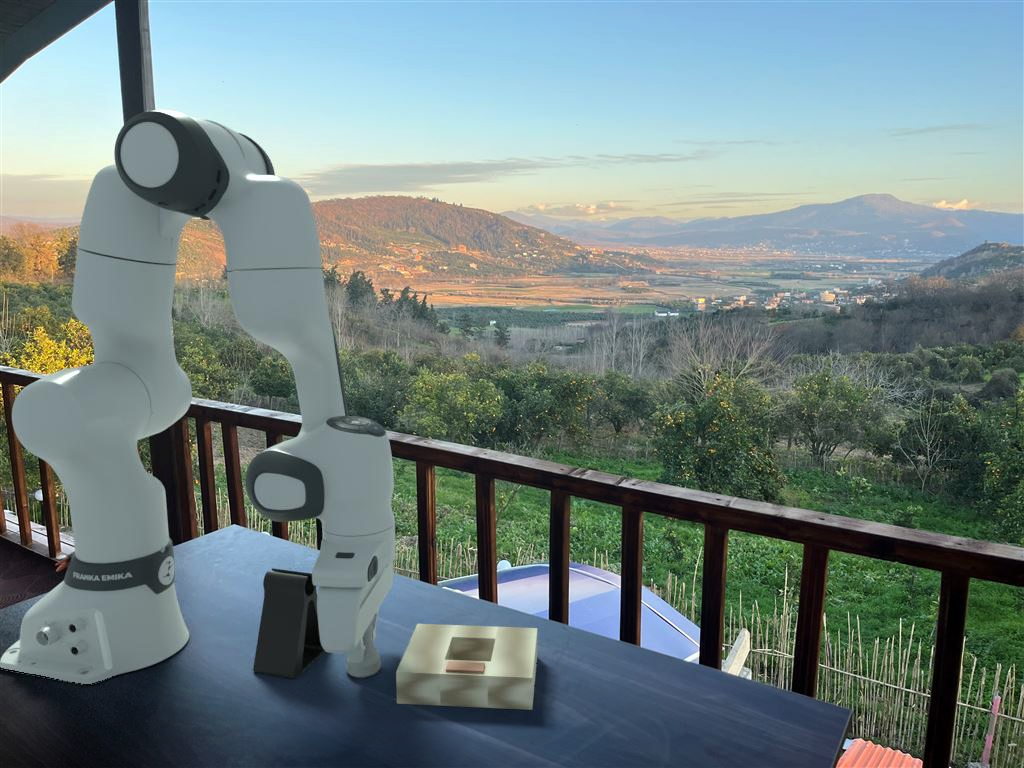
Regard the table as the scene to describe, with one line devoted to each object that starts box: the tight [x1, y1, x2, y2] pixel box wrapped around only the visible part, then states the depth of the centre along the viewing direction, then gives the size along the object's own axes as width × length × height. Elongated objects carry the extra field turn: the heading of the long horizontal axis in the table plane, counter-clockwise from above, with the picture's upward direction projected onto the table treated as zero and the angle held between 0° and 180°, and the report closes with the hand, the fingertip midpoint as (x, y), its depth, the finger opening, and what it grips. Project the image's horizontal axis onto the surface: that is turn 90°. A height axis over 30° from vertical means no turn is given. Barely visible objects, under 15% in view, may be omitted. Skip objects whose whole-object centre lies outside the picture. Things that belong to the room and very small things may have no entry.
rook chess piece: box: [345, 615, 382, 679], centre depth 93 cm, size 4×4×8 cm
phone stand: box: [252, 567, 326, 680], centre depth 95 cm, size 9×6×12 cm, turn 163°
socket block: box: [395, 623, 538, 711], centre depth 91 cm, size 16×12×4 cm
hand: (362, 650), depth 93 cm, fingers closed on rook chess piece, 3 cm apart
